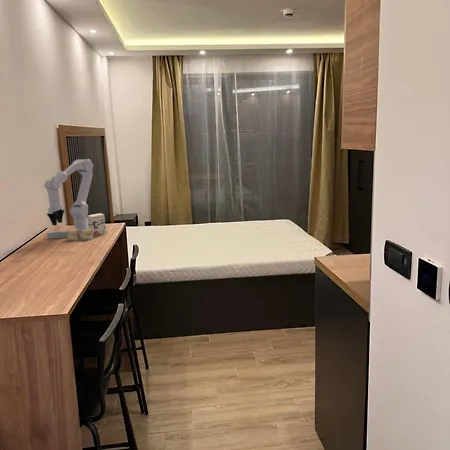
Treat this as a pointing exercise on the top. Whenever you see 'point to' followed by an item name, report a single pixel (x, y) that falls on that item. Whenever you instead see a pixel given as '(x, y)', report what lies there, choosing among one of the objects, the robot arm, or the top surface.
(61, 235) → the lintel
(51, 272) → the top surface
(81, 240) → the mat
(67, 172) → the robot arm
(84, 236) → the cube right
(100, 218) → the ink box
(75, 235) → the cube left
